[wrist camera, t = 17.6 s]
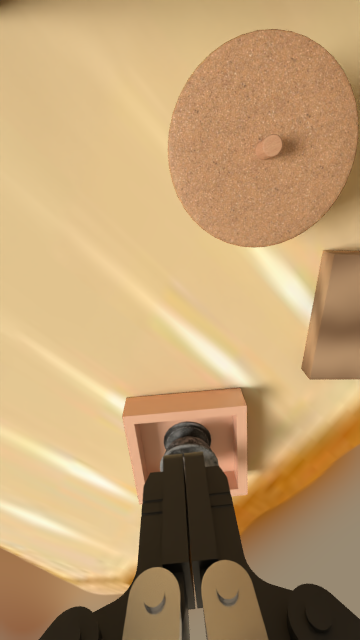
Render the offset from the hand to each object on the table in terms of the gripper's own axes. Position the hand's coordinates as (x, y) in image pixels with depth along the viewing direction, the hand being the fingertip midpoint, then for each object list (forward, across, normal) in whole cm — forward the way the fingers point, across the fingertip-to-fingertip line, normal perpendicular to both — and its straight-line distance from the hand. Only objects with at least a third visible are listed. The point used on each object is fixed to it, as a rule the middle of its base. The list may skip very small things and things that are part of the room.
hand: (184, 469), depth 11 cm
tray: (+18, 0, +16) cm, 24 cm away
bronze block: (+18, -17, +3) cm, 25 cm away
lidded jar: (+19, -6, -11) cm, 23 cm away
